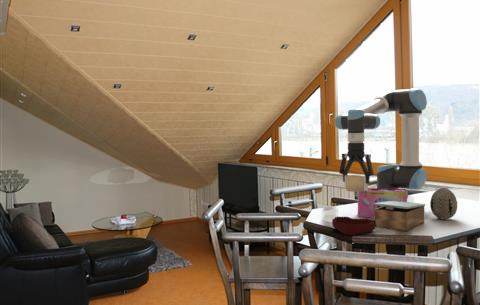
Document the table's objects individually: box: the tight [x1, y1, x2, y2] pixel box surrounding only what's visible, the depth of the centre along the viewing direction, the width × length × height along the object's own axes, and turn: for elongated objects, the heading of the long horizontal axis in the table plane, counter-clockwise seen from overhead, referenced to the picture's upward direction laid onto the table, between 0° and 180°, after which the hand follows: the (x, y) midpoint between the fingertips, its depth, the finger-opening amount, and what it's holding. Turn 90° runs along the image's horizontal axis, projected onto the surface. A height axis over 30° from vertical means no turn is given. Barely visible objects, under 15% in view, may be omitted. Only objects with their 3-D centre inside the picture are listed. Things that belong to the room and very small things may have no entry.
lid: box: [374, 201, 426, 210], centre depth 190 cm, size 15×23×2 cm, turn 139°
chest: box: [374, 206, 425, 233], centre depth 191 cm, size 14×22×8 cm, turn 139°
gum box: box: [357, 187, 409, 218], centre depth 211 cm, size 24×8×14 cm, turn 77°
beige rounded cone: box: [346, 174, 365, 193], centre depth 202 cm, size 9×9×7 cm
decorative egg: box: [429, 187, 458, 220], centre depth 203 cm, size 12×12×15 cm
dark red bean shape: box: [331, 216, 377, 237], centre depth 179 cm, size 18×16×5 cm
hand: (356, 189), depth 202 cm, fingers closed on beige rounded cone, 9 cm apart
